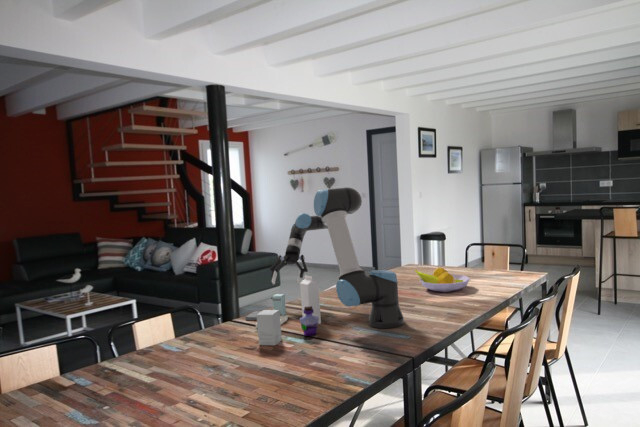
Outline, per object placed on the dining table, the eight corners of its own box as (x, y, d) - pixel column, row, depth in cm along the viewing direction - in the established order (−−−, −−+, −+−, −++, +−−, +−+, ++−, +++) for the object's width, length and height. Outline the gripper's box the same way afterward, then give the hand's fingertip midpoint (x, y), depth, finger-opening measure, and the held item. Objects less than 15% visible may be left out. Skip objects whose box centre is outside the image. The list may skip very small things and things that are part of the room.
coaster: (254, 314, 241) (254, 311, 241) (272, 314, 238) (272, 311, 238) (245, 319, 231) (245, 316, 231) (264, 320, 228) (264, 317, 228)
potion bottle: (296, 337, 199) (294, 308, 198) (304, 330, 207) (302, 303, 206) (316, 338, 196) (314, 309, 195) (323, 331, 204) (321, 303, 203)
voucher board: (268, 319, 230) (267, 314, 230) (287, 319, 227) (287, 314, 227) (255, 328, 216) (255, 323, 216) (276, 328, 213) (275, 323, 213)
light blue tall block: (277, 316, 234) (276, 294, 233) (286, 316, 233) (284, 293, 232) (274, 318, 230) (272, 296, 229) (282, 319, 228) (281, 296, 228)
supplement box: (282, 339, 197) (280, 309, 196) (275, 346, 190) (272, 314, 189) (266, 339, 199) (263, 309, 199) (258, 345, 192) (255, 314, 192)
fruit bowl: (475, 285, 269) (474, 265, 268) (461, 296, 246) (460, 274, 245) (427, 282, 284) (426, 263, 283) (410, 293, 261) (408, 272, 260)
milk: (310, 326, 212) (306, 277, 211) (302, 324, 217) (298, 276, 216) (321, 323, 216) (317, 275, 215) (313, 321, 221) (309, 273, 219)
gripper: (317, 252, 252) (310, 286, 239) (274, 253, 260) (265, 287, 247) (314, 243, 247) (306, 278, 234) (269, 245, 255) (260, 279, 241)
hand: (285, 283), depth 240 cm, fingers open, 13 cm apart
